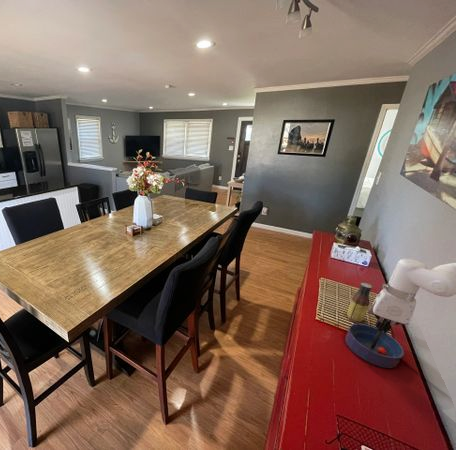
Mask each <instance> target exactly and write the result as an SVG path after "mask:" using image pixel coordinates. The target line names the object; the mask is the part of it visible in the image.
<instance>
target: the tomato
mask: <svg viewBox="0 0 456 450" xmlns="http://www.w3.org/2000/svg"><path fill="white" fill-rule="evenodd" d="M378 349H379V354H381V355H384V356H385V355H386V354H387V351H386V350H385V349H384V348H382V347H379V348H378Z"/></svg>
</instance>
